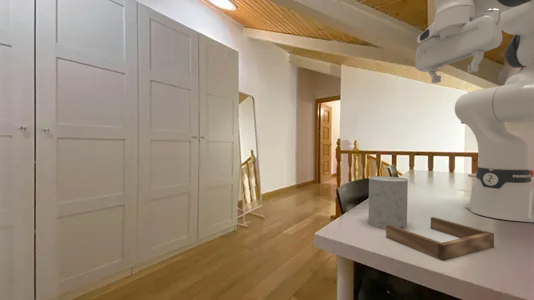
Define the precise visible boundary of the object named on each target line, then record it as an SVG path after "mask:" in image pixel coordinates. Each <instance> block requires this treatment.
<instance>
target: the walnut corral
mask: <svg viewBox="0 0 534 300" xmlns="http://www.w3.org/2000/svg"><path fill="white" fill-rule="evenodd" d="M431 228H432V229H431ZM430 229H431V230H434V229H435V230H434V231H438V232H440V233H443V234H447V235H450V236H453V237H457V239H453V240H448V241H443V242H440V241H438V240H435V239H431V238H429V237H427V236H423V235H420V234H417V233H414V232H412V231H409V230H406V229H401V228H398V227H395V226H392V225H386V229H385V237H386V238H388V239H390V240H392V241H395V242H397V243H399V244H402V245H405V246H407V247H409V248H412V249H415V250H417V251H419V252H422V253H424V254H426V255H429V256H431V257H434V258H437V259H439V260H441V261H445V260H449V259H453V258H457V257H461V256H465V255H468V254H471V253H477V252H479V251H483V250H486V249H487V250H488V249H491V248H494V247H495V233H494V232H490V231H486V230H482V229H479V228H474V227H471V226H469V225H463V224H461V223H456V222H453V221H450V220H447V219H446V220H445V219H441V218H439V217H435V216H433V217H430Z"/></svg>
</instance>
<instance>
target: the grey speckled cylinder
mask: <svg viewBox="0 0 534 300" xmlns="http://www.w3.org/2000/svg"><path fill="white" fill-rule="evenodd" d="M408 182H409V179H407V178H405V177H398V176H397V177H396V176H385V175H383V176H382V175H377V176H369V177H368V221H367V223H368V224H369V225H370V226H372V227H374V228H378V229H382V230H386V225H392V226H395V227H398V228H401V229H404V230H406V229H407V228H408V190H409V189H408V187H409V186H408Z"/></svg>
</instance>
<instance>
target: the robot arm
mask: <svg viewBox="0 0 534 300" xmlns="http://www.w3.org/2000/svg"><path fill="white" fill-rule="evenodd" d="M433 3H434V4H433V5H434V7H435V15H434V18H433V20H434V21H433V22H432V23H431V24H430V25H429V26H428V27H427V28H426V29H425V30H424V31H423V32H421V33H420V34H418V36H417V38H416V43H417V44H418V46H417V48H416V52H415V63H414V64H415V69H416V70H417V71H420V72H422V73H423V72H424V73H426V72H427V73H428V74H429V76H430V77H431V83H432V84H438V83H441V82H442V76H441V75H438V74H437V72H438V68H441V67H444V66H446V65H449V64H453V63H455V62H459V61H462V60H465V59H468V58H469V57H473V58H472V60H471V63H470V64H467V65H466V67H467V70H466V72H467V73H469V74H473V73H476V72H478V71H479V65H480V63H481V62H482V60H483V59H484V57H485V52H487V51H490V50H493V49H496V48H498V47H499V46H500V45H501V43H503V33H502V31H503V32H504V33H506V34H508V35H514V36H513V37H511V38H512V39H511V40H510V41H509V42H508V44H507V46H506V48H505V49H504V59H505V62H506V64H507V65H509V66H510V67H511V68H516V69H518V68H522V69H520V70H519V71H518V72H516V73H515V74H513V75H512V76H510V77H509V78H507V80H506V81H505V83H504V84H503V85H499V86H494V87H493V86H492V87H487V88H482V89H481V88H480V89H475V90H473V91H472V90H471V91H470V92H466V93H464V94H462V95H460V96H459V97H458V99H456V102H455V105H454V113H455V116H456V117H457V119H458V120H459V121H461V122H462V123H464V124H466V125H467V126H468V128H469V129H471V131H472V133H473V135H474V137H475V139H476V140H475V141H476V143H477V154H478V158H477V159H478V163H477V164H478V166H477V167H476V169H475V174H476V175H475V178H476V179H477V180H476V181H475V182H474V183H472V184H471V188H470V189H471V190H470V199H469V204H465V208H466V209H468V210H469V211H470V212H471V213H473V214H476V215H479V216H484V217H486V218H487V217H488V218H491V219H492V218H493V219H497V220H498V219H499V220H505V221H513V222H514V221H515V222H525V223H526V222H527V223H534V186H533V185H532V183H531V182H532V178H533V177H534V170H532V169H529V168H528V166H529V145H528V143H527V142H526V141H525V139H523V138H522V137H520V136H518V135H516V134H514V133H513V134H512V133H511V132H509V131H508V129H507V128H506V123H515V122H532V121H534V0H434V2H433Z"/></svg>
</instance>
